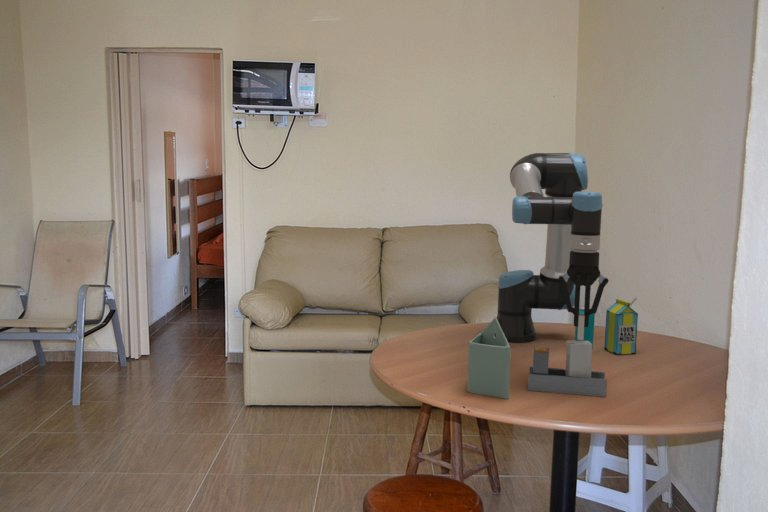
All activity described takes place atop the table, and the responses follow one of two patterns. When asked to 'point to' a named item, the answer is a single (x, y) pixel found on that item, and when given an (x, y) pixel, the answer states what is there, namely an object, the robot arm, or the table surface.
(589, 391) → the rail
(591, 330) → the beverage can
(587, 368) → the skincare box
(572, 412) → the table surface
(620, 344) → the carton
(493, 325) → the planter
